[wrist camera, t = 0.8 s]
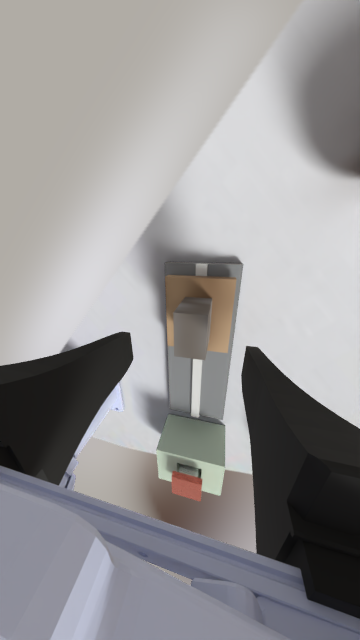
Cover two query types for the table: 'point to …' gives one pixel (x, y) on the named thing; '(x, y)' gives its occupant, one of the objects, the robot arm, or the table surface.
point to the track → (211, 374)
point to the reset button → (187, 482)
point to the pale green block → (193, 450)
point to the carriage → (199, 314)
